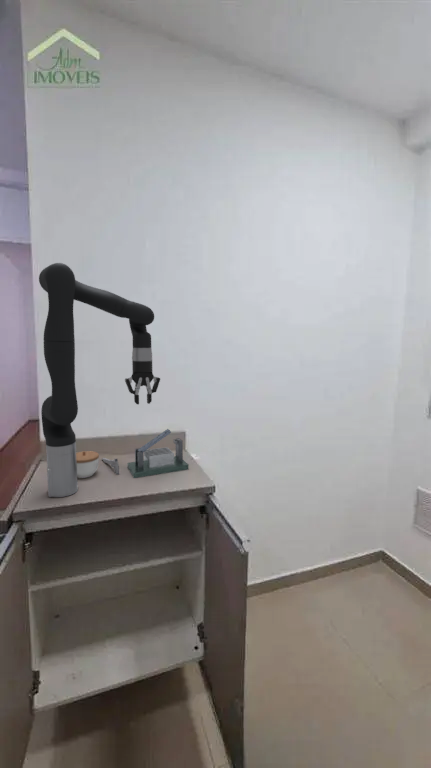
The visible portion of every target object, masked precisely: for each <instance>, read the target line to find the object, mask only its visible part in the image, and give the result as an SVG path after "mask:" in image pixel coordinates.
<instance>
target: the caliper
mask: <svg viewBox="0 0 431 768" xmlns="http://www.w3.org/2000/svg"><path fill="white" fill-rule="evenodd" d="M101 459H102V460H103V461H104V462H103V461H102V460H101V461H102V462H103V463H105V464H108V465H110V467H111V468H113V471H114V474H115V475H120V465H119V460H118V458H113V459H109V458H106V457H102V458H101Z"/></svg>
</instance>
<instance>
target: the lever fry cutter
mask: <svg viewBox="0 0 431 768" xmlns="http://www.w3.org/2000/svg"><path fill="white" fill-rule="evenodd" d="M173 444H175V453H174V452H173V451H172V450H171V449H170V448H169V447H168V446H166V447H157V448H151V449H150V448H148V449H147V450H146V451H144V452H139V451H138V449H139V447H138V448H134V461H130V462H127V470H128V471H129V473H130V474H131V476H132V477H133V479H136V478H143V477H151V476H155V475H162V474H168V473H173V472H174V473H175V472H181V471H188V470H189V464H188V462H186V461H185V460H184V459H183V458H184V457H183V454H184V453H183V452H184V451H183V449H184V448H183V447H184V446H183V445H184V443H183V440H182V438H180V437H177V438H175V439H173Z"/></svg>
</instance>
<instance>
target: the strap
mask: <svg viewBox="0 0 431 768" xmlns="http://www.w3.org/2000/svg"><path fill="white" fill-rule="evenodd" d="M171 433H172V431H171V430H170V429H169V428H167V429H165V430H164V431H163V432H161V433H159V434H158V435H157V436H155V437H154V438H153V439H151V440H149V441H148V442H147V443H145V444H144V445H142V446H140V448H139V447H138V448H139V449H138V451H139V452H143V453H144V451H146V450H149V449H150V448H151V447H153V446H154V445H155V444H157V443H159V442H160V441H162V440H163V439H164V438H165V437H168V435H170V434H171Z"/></svg>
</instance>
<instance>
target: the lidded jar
mask: <svg viewBox="0 0 431 768" xmlns="http://www.w3.org/2000/svg"><path fill="white" fill-rule="evenodd" d="M99 455H100V454H99V453H98V452H96V451H90V450H89V451H87V450H86V451H85V450H82V451H78V452H76V458H77V479H78V478H79V479H86V478H90V477H92V476H94V474H95V472H97V470H98V467H99V462H100V461H99V457H100V456H99Z"/></svg>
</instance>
